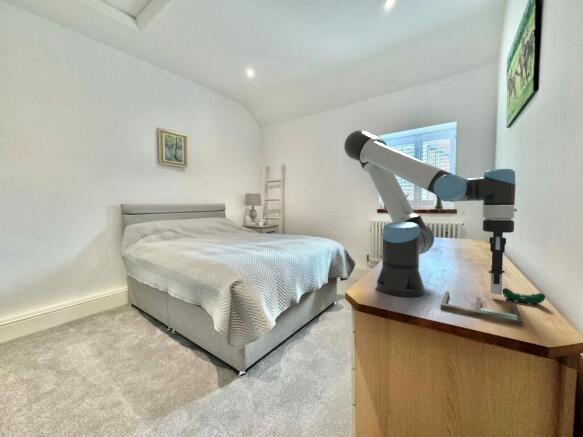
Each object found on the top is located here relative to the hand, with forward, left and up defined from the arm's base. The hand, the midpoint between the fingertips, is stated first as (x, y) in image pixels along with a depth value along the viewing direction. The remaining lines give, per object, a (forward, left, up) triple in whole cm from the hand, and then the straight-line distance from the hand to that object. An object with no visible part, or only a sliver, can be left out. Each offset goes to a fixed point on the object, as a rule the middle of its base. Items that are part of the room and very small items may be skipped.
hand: (496, 293), depth 78 cm
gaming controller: (+6, -3, +1) cm, 7 cm away
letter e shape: (-4, -13, -2) cm, 14 cm away
